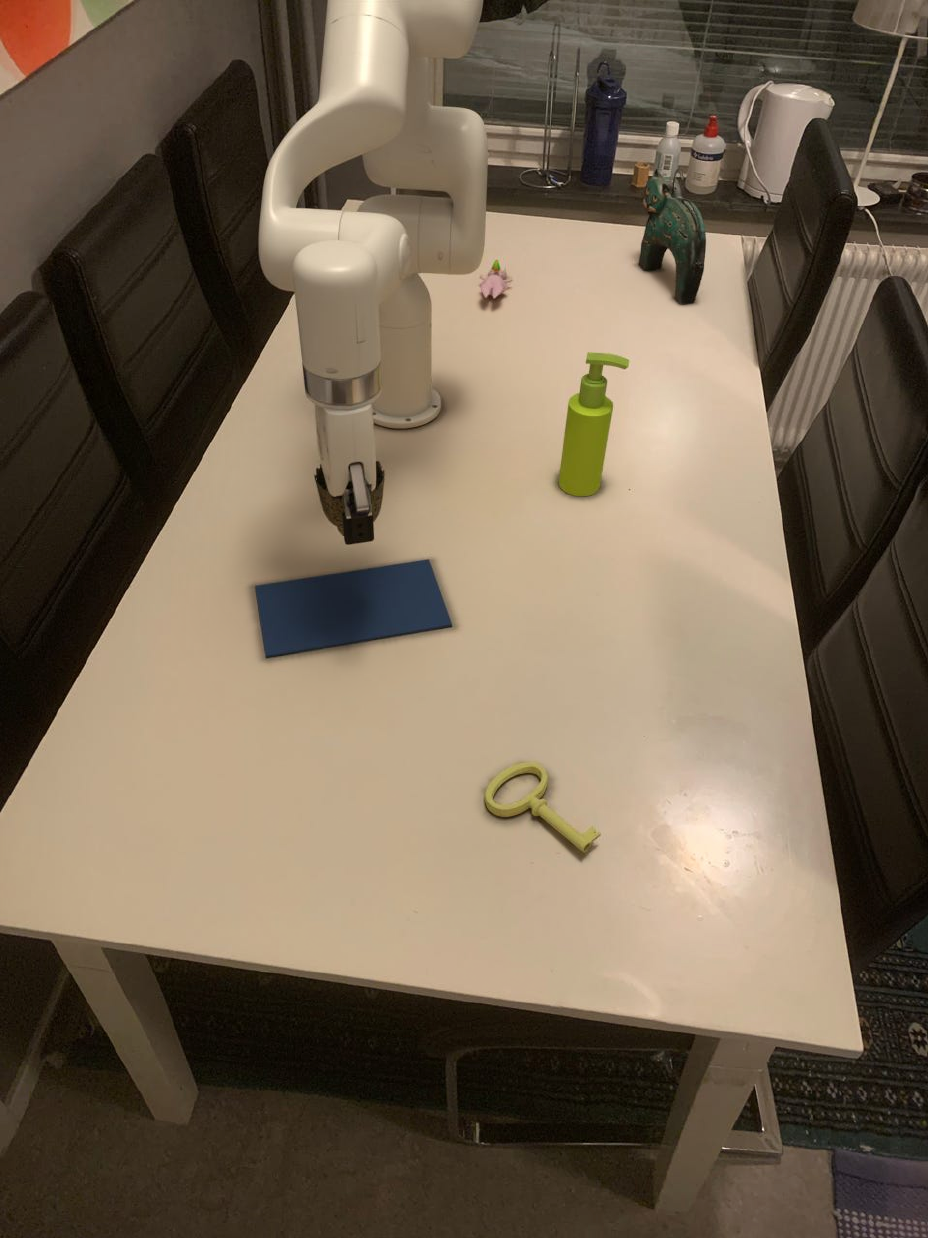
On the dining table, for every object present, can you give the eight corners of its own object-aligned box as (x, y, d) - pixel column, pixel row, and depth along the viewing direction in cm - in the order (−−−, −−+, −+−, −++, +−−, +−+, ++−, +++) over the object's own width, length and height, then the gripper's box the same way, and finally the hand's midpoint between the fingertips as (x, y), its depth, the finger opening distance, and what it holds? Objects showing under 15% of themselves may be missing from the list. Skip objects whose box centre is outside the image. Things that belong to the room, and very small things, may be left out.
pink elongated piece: (481, 282, 176) (472, 305, 164) (483, 249, 173) (473, 271, 160) (513, 285, 176) (506, 308, 163) (516, 252, 172) (509, 274, 160)
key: (587, 863, 87) (590, 851, 86) (475, 806, 91) (476, 794, 90) (617, 808, 92) (620, 796, 90) (509, 756, 96) (510, 744, 94)
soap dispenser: (605, 500, 127) (627, 371, 113) (555, 493, 128) (572, 364, 114) (608, 475, 131) (631, 348, 117) (561, 468, 132) (577, 341, 118)
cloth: (255, 588, 113) (254, 585, 112) (429, 561, 117) (429, 559, 117) (266, 658, 104) (265, 655, 104) (452, 626, 109) (452, 624, 109)
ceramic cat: (629, 261, 181) (646, 154, 167) (658, 258, 183) (678, 152, 169) (674, 307, 168) (697, 195, 154) (706, 303, 170) (731, 192, 155)
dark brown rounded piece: (397, 518, 104) (395, 461, 99) (371, 559, 99) (368, 500, 94) (337, 504, 106) (332, 446, 100) (309, 543, 101) (302, 484, 95)
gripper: (292, 337, 94) (308, 478, 106) (317, 430, 82) (332, 576, 95) (364, 329, 95) (371, 469, 108) (399, 420, 84) (402, 565, 96)
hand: (353, 518), depth 101 cm, fingers closed on dark brown rounded piece, 7 cm apart
